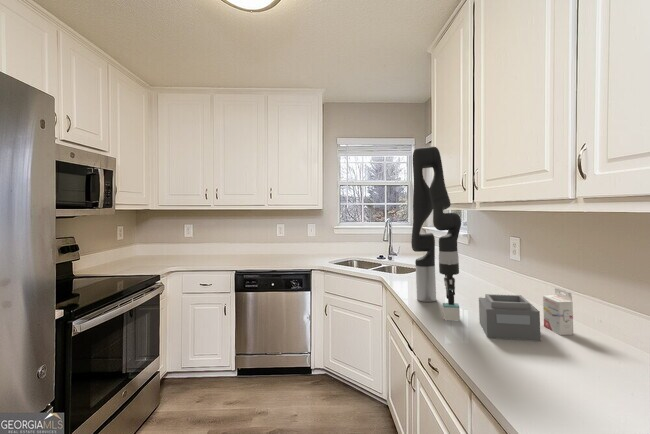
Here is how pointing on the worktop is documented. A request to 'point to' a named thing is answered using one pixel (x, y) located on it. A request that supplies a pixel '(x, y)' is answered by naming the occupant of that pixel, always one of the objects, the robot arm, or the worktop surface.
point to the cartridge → (451, 311)
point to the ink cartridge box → (558, 312)
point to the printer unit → (509, 317)
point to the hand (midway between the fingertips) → (450, 301)
